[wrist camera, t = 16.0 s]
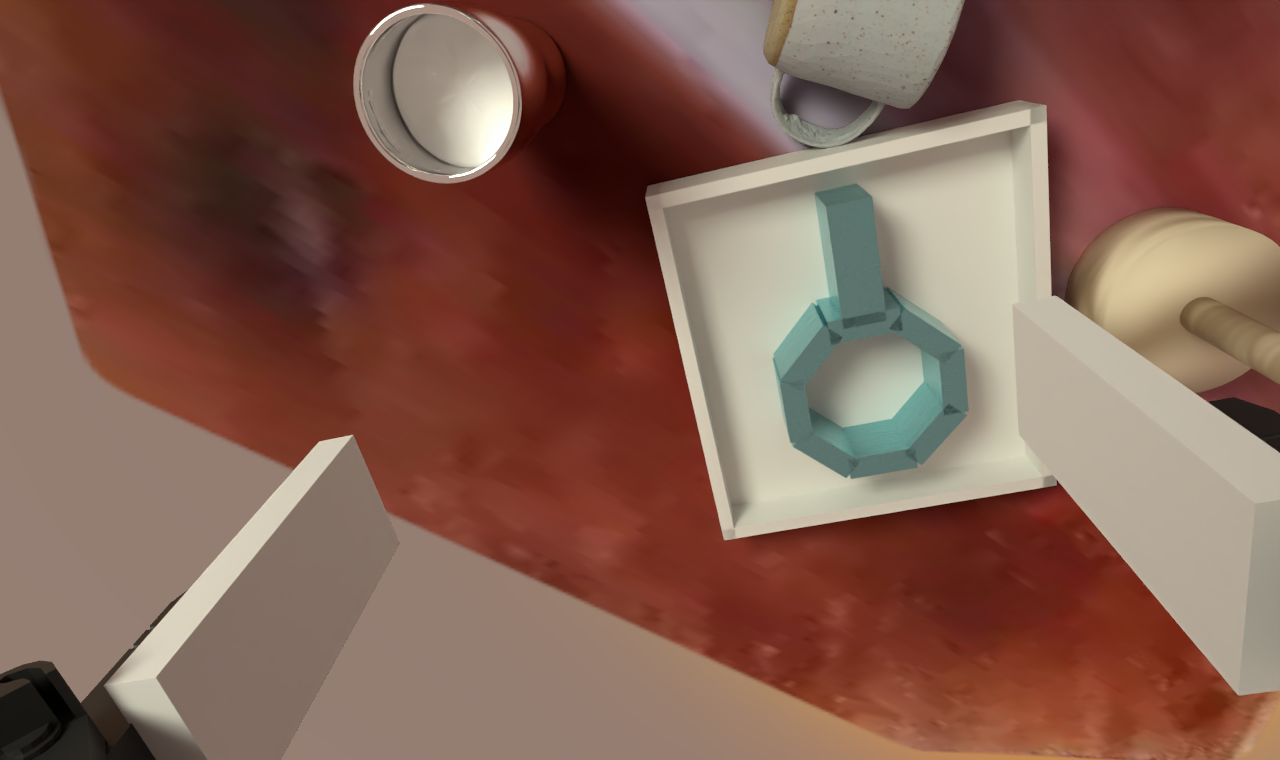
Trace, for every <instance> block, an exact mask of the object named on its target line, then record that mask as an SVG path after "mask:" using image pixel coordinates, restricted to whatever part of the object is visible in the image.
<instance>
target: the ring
mask: <svg viewBox="0 0 1280 760" xmlns="http://www.w3.org/2000/svg"><path fill="white" fill-rule="evenodd" d="M814 195H815V202H816V209H817V215H818V222H819V229H820V236H821V243H822V250H823V257H824V263H825V270H826V277H827V284H828V291H829V297H827V298H823V299H818V300H816V302H817V305H815V304H814V303H811V304H810V306H809V307H808V308H807V310H806V311H805V312H804V314H803V315H802V316H801V318H800V319H799V320H798V322H797V323H796V324H795V326H794V327H793V328H792V330H791V331H790V332H789V334H788V335H787V336H786V338H785V339H784V340H783V342H782V343H781V344H780V346H779V347H778V348H777V350H776V351H775V352H774V358H772V359H773V364H774V370H775V375H776V381H777V386H778V392H779V397H780V403H781V408H782V414H783V418H784V421H785V425H786V429H787V433H788V436H789V440H790V443H792V445H793V447H794V448H796V449H797V450H799V451H801V452H802V453H804V454H806V455H807V456H809V457H811V458H813V459H814V460H816V461H818V462H819V463H821V464H823V465H824V466H826V467H828V468H829V469H831V470H833V471H835V472H836V473H838V474H840V475H841V476H843V477H845V478H847V477H848V476H850V478H851V479H855V478H861V477H866V476H872V475H878V474H884V473H890V472H895V471H901V470H907V469H913V468H918V466H917V463H919V464H921V465H923V464H924V463H925V461H926V460H927V459H928V458H929V457H930V456H931V455H932V454H933V453H934V452H935V450H936V449H937V448H938V447H939V446H940V445H941V444H942V443H943V442H944V440H945V439H946V438H947V437H948V436H949V435H950V434H951V433H952V432H953V431H954V429H955V428H956V427H957V426H958V425H959V424H960V423H961V422H962V421H963V419H964V418H965V417H966V416H967V415H966V413H965V412H967V411H969V409H968V396H967V383H966V370H965V357H964V348H963V347H962V346H961V344H960V343H959V342H958V340H957V339H956V338H955V337H954V336H953V335H952V334H951V333H950V332H949V330H948V329H947V328H946V327H945V326H944V325H943V324H942V323H941V322H940V321H939V320H938V319H936V318H935V317H933V316H932V315H930V314H929V313H927V312H926V311H924V310H922V309H921V308H919V307H918V306H916V305H915V304H913V303H912V302H910V301H909V300H907V299H906V298H904V297H903V296H901V295H899V294H898V293H896V292H895V291H893V290H892V289H890V288H889V287H887V288H886V289H885V288H884V287H883V284H882V276H881V267H880V259H879V250H878V242H877V233H876V225H875V216H874V208H873V199H872V196H871V195H870V194H868V193H867V192H866V191H865V190H864V189H863V188H861V187H860V186H859V185H858V184H857V183H855V184H851V185H846V186H842V187H838V188H833V189H829V190H824V191H820V192H815V193H814ZM894 332H895V333H897V334H898V335H900V336H902V337H903V338H905V339H906V340H908V341H909V342H911V343H912V344H914V345H916V346H917V347H919V348H920V349H921V357H922V367H923V377H924V382H923V383H922V384H921V385H920V386H919V388H918V389H917V390H916V391H915V392H914V393H913V395H912V396H911V397H910V398H909V399H908V400H907V402H906V403H905V404H904V405H903V406H902V407H901V409H900V410H899V411H898V412H897V413H896V414H895V416H894V417H893V418H892V419H888V420H882V421H877V422H871V423H866V424H860V425H855V426H849V427H844V428H842V427H841V426H839V425H837V424H836V423H834V422H832V421H831V420H829V419H827V418H826V417H824V416H822V415H821V414H819V413H817V412H816V411H814V410H812V409H811V408H809V407H808V402H807V396H806V390H805V385H806V384H807V383H808V381H809V380H810V379H811V378H812V376H813V375H814V374H815V373H816V371H817V370H818V369H819V368H820V366H821V365H822V364H823V362H824V361H825V360H826V359H827V357H828V356H829V355H830V354H831V352H832V351H833V350H834V348H835V347H836V346H837V345H838V343H843V342H849V341H854V340H859V339H864V338H869V337H874V336H879V335H884V334H889V333H894Z"/></svg>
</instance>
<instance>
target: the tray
mask: <svg viewBox="0 0 1280 760" xmlns="http://www.w3.org/2000/svg"><path fill="white" fill-rule="evenodd" d="M855 183H857V184H858V185H859V186H860V187H861V188H863V189H864V190H865V191H866V192H867V193H868V194H870V195H871V196H872V199H873V208H874V216H875V225H876V233H877V242H878V250H879V259H880V267H881V276H882V284H883V287H884V288H885V289H886V288H887V287H889V288H890V289H892V290H893V291H895V292H896V293H898V294H899V295H901V296H903V297H904V298H906V299H907V300H909V301H910V302H912V303H913V304H915V305H916V306H918V307H919V308H921V309H922V310H924V311H926V312H927V313H929V314H930V315H932V316H933V317H935V318H936V319H938V320H939V321H940V322H941V323H942V324H943V325H944V326H945V327H946V328H947V329H948V330H949V332H950V333H951V334H952V335H953V336H954V337H955V338H956V339H957V340H958V342H959V343H960V344H961V346H962V347H963V348H964V357H965V370H966V383H967V396H968V409H969V411H967V412H965V413H966V415H967V416H966V417H965V418H964V419H963V421H962V422H961V423H960V424H959V425H958V426H957V427H956V428H955V429H954V431H953V432H952V433H951V434H950V435H949V436H948V437H947V438H946V439H945V440H944V442H943V443H942V444H941V445H940V446H939V447H938V448H937V449H936V450H935V452H934V453H933V454H932V455H931V456H930V457H929V458H928V459H927V460H926V461H925V463H924V464H923V465H921V464H919V463H917V466H918V468H913V469H907V470H901V471H895V472H890V473H884V474H878V475H872V476H866V477H861V478H855V479H851V478H850V476H848V477H847V478H845V477H843V476H841V475H840V474H838V473H836V472H835V471H833V470H831V469H829V468H828V467H826V466H824V465H823V464H821V463H819V462H818V461H816V460H814V459H813V458H811V457H809V456H807V455H806V454H804V453H802V452H801V451H799V450H797V449H796V448H794V447H793V445H792V443H790V440H789V436H788V433H787V429H786V425H785V421H784V418H783V414H782V408H781V403H780V397H779V392H778V386H777V381H776V375H775V370H774V364H773V359H772V358H774V352H775V351H776V350H777V348H778V347H779V346H780V344H781V343H782V342H783V340H784V339H785V338H786V336H787V335H788V334H789V332H790V331H791V330H792V328H793V327H794V326H795V324H796V323H797V322H798V320H799V319H800V318H801V316H802V315H803V314H804V312H805V311H806V310H807V308H808V307H809V306H810V304H811V303H814V304H815V305H817V302H816V300H818V299H823V298H827V297H829V291H828V284H827V277H826V270H825V263H824V257H823V250H822V243H821V236H820V229H819V222H818V215H817V209H816V202H815V195H814V193H815V192H820V191H824V190H829V189H833V188H838V187H842V186H846V185H851V184H855ZM645 199H646V204H647V208H648V212H649V217H650V221H651V225H652V230H653V234H654V238H655V243H656V247H657V251H658V256H659V260H660V264H661V269H662V273H663V277H664V282H665V286H666V290H667V295H668V299H669V303H670V308H671V312H672V316H673V321H674V325H675V329H676V334H677V338H678V342H679V347H680V351H681V355H682V360H683V364H684V368H685V373H686V377H687V381H688V386H689V390H690V394H691V399H692V403H693V407H694V412H695V416H696V420H697V425H698V429H699V433H700V438H701V442H702V446H703V451H704V455H705V459H706V464H707V468H708V472H709V477H710V481H711V485H712V490H713V494H714V498H715V503H716V507H717V511H718V516H719V520H720V524H721V529H722V533H723V537H724V540H729V539H735V538H741V537H747V536H753V535H759V534H766V533H772V532H778V531H784V530H790V529H796V528H802V527H808V526H814V525H820V524H826V523H832V522H838V521H844V520H850V519H856V518H862V517H868V516H874V515H881V514H887V513H893V512H899V511H905V510H911V509H917V508H923V507H929V506H935V505H941V504H947V503H953V502H959V501H965V500H971V499H977V498H983V497H990V496H996V495H1002V494H1008V493H1014V492H1020V491H1026V490H1032V489H1038V488H1044V487H1050V486H1056V485H1057V479H1056V478H1055V477H1054V476H1053V474H1052V473H1051V472H1050V471H1049V470H1048V469H1047V467H1046V466H1045V465H1044V464H1043V463H1042V461H1041V460H1040V459H1039V458H1038V457H1037V455H1036V454H1035V453H1034V452H1033V451H1032V449H1031V448H1030V447H1029V446H1028V445H1027V444H1026V442H1025V441H1024V440H1023V439H1022V438H1021V436H1020V435H1019V429H1018V409H1017V389H1016V369H1015V350H1014V330H1013V310H1012V304H1016V303H1021V302H1026V301H1031V300H1036V299H1041V298H1046V297H1051V296H1052V295H1051V258H1050V222H1049V186H1048V149H1047V113H1046V105H1042V104H1037V103H1032V102H1027V101H1022V100H1017V101H1013V102H1008V103H1004V104H1000V105H995V106H991V107H987V108H982V109H978V110H974V111H969V112H965V113H961V114H956V115H952V116H948V117H943V118H939V119H935V120H930V121H926V122H922V123H917V124H913V125H909V126H904V127H900V128H896V129H891V130H887V131H883V132H878V133H874V134H870V135H865V136H861V137H857V138H854V139H853V140H851V141H849V142H847V143H844V144H842V145H839V146H836V147H831V148H819V147H813V148H809V149H805V150H800V151H796V152H792V153H787V154H783V155H779V156H774V157H770V158H766V159H762V160H757V161H753V162H749V163H744V164H740V165H736V166H731V167H727V168H723V169H718V170H714V171H710V172H705V173H701V174H697V175H692V176H688V177H684V178H679V179H675V180H671V181H666V182H662V183H658V184H653V185H649V186H647V191H646V195H645ZM923 382H924V377H923V367H922V357H921V349H920V348H919V347H917V346H916V345H914V344H912V343H911V342H909V341H908V340H906V339H905V338H903V337H902V336H900V335H898V334H897V333H895V332H894V333H889V334H884V335H879V336H874V337H869V338H864V339H859V340H854V341H849V342H843V343H838V345H837V346H836V347H835V348H834V350H833V351H832V352H831V354H830V355H829V356H828V357H827V359H826V360H825V361H824V362H823V364H822V365H821V366H820V368H819V369H818V370H817V371H816V373H815V374H814V375H813V376H812V378H811V379H810V380H809V381H808V383H807V384H806V385H805V390H806V396H807V402H808V407H809V408H811V409H812V410H814V411H816V412H817V413H819V414H821V415H822V416H824V417H826V418H827V419H829V420H831V421H832V422H834V423H836V424H837V425H839V426H841V427H842V428H844V427H849V426H855V425H860V424H866V423H871V422H877V421H882V420H888V419H892V418H893V417H894V416H895V414H896V413H897V412H898V411H899V410H900V409H901V407H902V406H903V405H904V404H905V403H906V402H907V400H908V399H909V398H910V397H911V396H912V395H913V393H914V392H915V391H916V390H917V389H918V388H919V386H920V385H921V384H922V383H923Z"/></svg>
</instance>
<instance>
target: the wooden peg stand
mask: <svg viewBox="0 0 1280 760" xmlns="http://www.w3.org/2000/svg"><path fill="white" fill-rule="evenodd" d="M1065 302H1066V303H1067V304H1069V305H1070V306H1071V307H1073V308H1074V309H1076V310H1077V311H1079V312H1080V313H1081V314H1083V315H1084V316H1086V317H1087V318H1089V319H1090V320H1091V321H1093V322H1094V323H1096V324H1097V325H1098V326H1100V327H1101V328H1103V329H1104V330H1106V331H1107V332H1108V333H1110V334H1111V335H1113V336H1114V337H1116V338H1117V339H1118V340H1120V341H1121V342H1123V343H1124V344H1126V345H1127V346H1128V347H1130V348H1131V349H1133V350H1134V351H1136V352H1137V353H1138V354H1140V355H1141V356H1143V357H1144V358H1145V359H1147V360H1148V361H1150V362H1151V363H1153V364H1154V365H1155V366H1157V367H1158V368H1160V369H1161V370H1163V371H1164V372H1165V373H1167V374H1168V375H1170V376H1171V377H1173V378H1174V379H1175V380H1177V381H1178V382H1180V383H1181V384H1183V385H1184V386H1185V387H1187V388H1188V389H1190V390H1191V391H1192V392H1194V393H1199V392H1203V391H1207V390H1210V389H1213V388H1216V387H1219V386H1221V385H1224V384H1226V383H1228V382H1230V381H1232V380H1234V379H1236V378H1237V377H1239V376H1241V375H1243V374H1244V373H1245V372H1247V371H1248V370H1250V369H1251V368H1252V369H1254V370H1255V371H1257V372H1259V373H1260V374H1262V375H1264V376H1265V377H1267V378H1269V379H1271V380H1272V381H1274V382H1276V383H1277V384H1279V385H1280V247H1279V246H1278V245H1277V244H1276V243H1275V242H1273V241H1272V240H1271V239H1269V238H1267V237H1266V236H1264V235H1262V234H1260V233H1257V232H1255V231H1252V230H1250V229H1247V228H1244V227H1241V226H1238V225H1235V224H1232V223H1229V222H1226V221H1224V220H1221V219H1218V218H1215V217H1212V216H1209V215H1206V214H1203V213H1200V212H1198V211H1195V210H1191V209H1187V208H1180V207H1160V208H1153V209H1148V210H1145V211H1141V212H1138V213H1135V214H1133V215H1130V216H1128V217H1126V218H1124V219H1122V220H1120V221H1118V222H1116V223H1115V224H1113V225H1112V226H1110V227H1109V228H1107V229H1106V230H1105V231H1103V232H1102V233H1101V234H1100V235H1099V236H1097V237H1096V238H1095V239H1094V240H1093V241H1092V242H1091V243H1090V244H1089V246H1088V247H1087V248H1086V249H1085V251H1084V252H1083V253H1082V255H1081V256H1080V258H1079V259H1078V261H1077V263H1076V264H1075V266H1074V268H1073V271H1072V273H1071V275H1070V278H1069V281H1068V285H1067V290H1066V298H1065Z"/></svg>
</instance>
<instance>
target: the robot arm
mask: <svg viewBox="0 0 1280 760" xmlns="http://www.w3.org/2000/svg"><path fill="white" fill-rule="evenodd" d="M1012 310H1013V330H1014V350H1015V369H1016V389H1017V409H1018V429H1019V435H1020V436H1021V438H1022V439H1023V440H1024V441H1025V442H1026V444H1027V445H1028V446H1029V447H1030V448H1031V449H1032V451H1033V452H1034V453H1035V454H1036V455H1037V457H1038V458H1039V459H1040V460H1041V461H1042V463H1043V464H1044V465H1045V466H1046V467H1047V469H1048V470H1049V471H1050V472H1051V473H1052V474H1053V476H1054V477H1055V478H1056V479H1057V480H1058V482H1059V483H1060V484H1061V485H1062V486H1063V488H1064V489H1065V490H1066V491H1067V492H1068V494H1069V495H1070V496H1071V497H1072V498H1073V499H1074V501H1075V502H1076V503H1077V504H1078V505H1079V507H1080V508H1081V509H1082V510H1083V511H1084V513H1085V514H1086V515H1087V516H1088V517H1089V518H1090V520H1091V521H1092V522H1093V523H1094V524H1095V526H1096V527H1097V528H1098V529H1099V530H1100V532H1101V533H1102V534H1103V535H1104V536H1105V538H1106V539H1107V540H1108V541H1109V542H1110V543H1111V545H1112V546H1113V547H1114V548H1115V549H1116V551H1117V552H1118V553H1119V554H1120V555H1121V557H1122V558H1123V559H1124V560H1125V561H1126V563H1127V564H1128V565H1129V566H1130V567H1131V568H1132V570H1133V571H1134V572H1135V573H1136V574H1137V576H1138V577H1139V578H1140V579H1141V580H1142V582H1143V583H1144V584H1145V585H1146V586H1147V587H1148V589H1149V590H1150V591H1151V592H1152V593H1153V595H1154V596H1155V597H1156V598H1157V599H1158V601H1159V602H1160V603H1161V604H1162V605H1163V607H1164V608H1165V609H1166V610H1167V611H1168V612H1169V614H1170V615H1171V616H1172V617H1173V618H1174V620H1175V621H1176V622H1177V623H1178V624H1179V626H1180V627H1181V628H1182V629H1183V630H1184V632H1185V633H1186V634H1187V635H1188V636H1189V637H1190V639H1191V640H1192V641H1193V642H1194V643H1195V645H1196V646H1197V647H1198V648H1199V649H1200V651H1201V652H1202V653H1203V654H1204V655H1205V657H1206V658H1207V659H1208V660H1209V661H1210V662H1211V664H1212V665H1213V666H1214V667H1215V668H1216V670H1217V671H1218V672H1219V673H1220V674H1221V676H1222V677H1223V678H1224V679H1225V680H1226V681H1227V683H1228V684H1229V685H1230V686H1231V687H1232V689H1233V690H1234V691H1235V692H1236V693H1237V695H1238V696H1239V695H1247V694H1255V693H1263V692H1270V691H1278V690H1280V414H1278V413H1277V412H1275V411H1274V410H1271V409H1268V408H1264V407H1261V406H1258V405H1255V404H1252V403H1249V402H1246V401H1243V400H1240V399H1237V398H1234V397H1233V398H1228V399H1222V400H1216V401H1210V402H1207V401H1205V400H1204V399H1202V398H1201V397H1200V396H1198V395H1197V394H1195V393H1194V392H1192V391H1191V390H1190V389H1188V388H1187V387H1185V386H1184V385H1183V384H1181V383H1180V382H1178V381H1177V380H1175V379H1174V378H1173V377H1171V376H1170V375H1168V374H1167V373H1165V372H1164V371H1163V370H1161V369H1160V368H1158V367H1157V366H1155V365H1154V364H1153V363H1151V362H1150V361H1148V360H1147V359H1145V358H1144V357H1143V356H1141V355H1140V354H1138V353H1137V352H1136V351H1134V350H1133V349H1131V348H1130V347H1128V346H1127V345H1126V344H1124V343H1123V342H1121V341H1120V340H1118V339H1117V338H1116V337H1114V336H1113V335H1111V334H1110V333H1108V332H1107V331H1106V330H1104V329H1103V328H1101V327H1100V326H1098V325H1097V324H1096V323H1094V322H1093V321H1091V320H1090V319H1089V318H1087V317H1086V316H1084V315H1083V314H1081V313H1080V312H1079V311H1077V310H1076V309H1074V308H1073V307H1071V306H1070V305H1069V304H1067V303H1066V302H1064V301H1063V300H1061V299H1060V298H1059V297H1057V296H1051V297H1046V298H1041V299H1036V300H1031V301H1026V302H1021V303H1016V304H1012ZM399 544H400V542H399V540H398V538H397V536H396V533H395V531H394V529H393V526H392V524H391V522H390V519H389V517H388V515H387V512H386V510H385V508H384V505H383V503H382V501H381V498H380V496H379V494H378V491H377V489H376V487H375V484H374V482H373V480H372V477H371V475H370V473H369V471H368V468H367V466H366V464H365V461H364V459H363V457H362V454H361V452H360V450H359V447H358V445H357V443H356V440H355V438H354V436H353V435H350V436H345V437H340V438H335V439H330V440H325V441H320V442H318V444H317V445H316V446H315V447H314V448H313V449H312V450H311V451H310V453H309V454H308V455H307V456H306V457H305V458H304V459H303V461H302V462H301V463H300V464H299V465H298V466H297V467H296V468H295V470H294V471H293V472H292V473H291V474H290V475H289V476H288V478H287V479H286V480H285V481H284V482H283V484H281V485H280V487H279V488H278V489H277V490H276V491H275V492H274V493H273V495H272V496H271V497H270V498H269V499H268V500H267V502H265V504H264V505H263V506H262V507H261V508H260V509H259V510H258V511H257V513H256V514H255V515H254V516H253V517H252V518H251V520H250V521H249V522H248V523H247V524H246V525H245V526H244V527H243V529H242V530H241V531H240V532H239V533H238V534H237V535H236V536H235V538H234V539H233V540H232V541H231V542H230V543H229V544H228V546H227V547H226V548H225V549H224V550H223V551H222V552H221V553H220V555H219V556H218V557H217V558H216V559H215V560H214V561H213V562H212V564H211V565H210V566H209V567H208V568H207V569H206V571H204V573H203V574H202V575H201V576H200V577H199V578H198V579H197V581H196V582H195V583H194V584H193V585H192V586H191V587H190V589H188V590H187V591H186V592H184V593H183V594H182V595H180V596H179V597H178V598H176V599H175V600H174V601H172V602H171V603H170V604H169V605H168V606H167V608H166V609H165V610H164V611H163V612H162V613H161V614H160V615H159V616H158V618H157V619H156V620H155V621H154V622H153V623H152V624H151V625H150V630H146V631H145V632H144V633H143V634H142V635H141V637H140V638H139V639H138V640H137V641H136V642H135V643H134V648H133V649H129V650H128V651H127V652H126V653H125V654H124V655H123V657H122V658H121V659H120V660H119V661H118V662H117V663H116V664H115V666H114V667H113V668H112V669H111V670H110V671H109V672H108V674H107V675H106V676H105V677H104V678H103V679H102V680H101V681H100V682H99V684H98V685H97V686H96V687H95V688H94V689H93V690H92V691H91V692H90V694H89V695H88V696H87V697H86V698H85V699H84V700H83V701H82V702H81V703H80V702H79V700H78V699H77V698H76V696H75V695H74V694H73V692H72V690H71V689H70V687H69V686H68V685H67V683H66V682H65V680H64V679H63V677H62V676H61V675H60V673H59V672H58V670H57V669H56V667H55V666H54V664H53V663H52V662H47V661H37V662H32V663H28V664H24V665H21V666H19V667H16V668H14V669H11V670H9V671H7V672H5V673H3V674H0V760H281V758H282V757H283V755H284V753H285V751H286V749H287V748H288V746H289V744H290V742H291V740H292V738H293V737H294V735H295V733H296V731H297V730H298V728H299V726H300V724H301V722H302V720H303V719H304V717H305V715H306V713H307V711H308V710H309V708H310V706H311V704H312V702H313V700H314V699H315V697H316V695H317V693H318V691H319V690H320V688H321V686H322V684H323V682H324V680H325V679H326V677H327V675H328V673H329V671H330V669H331V668H332V666H333V664H334V662H335V660H336V658H337V657H338V655H339V653H340V651H341V650H342V648H343V646H344V644H345V642H346V640H347V639H348V637H349V635H350V633H351V631H352V629H353V628H354V626H355V624H356V622H357V620H358V619H359V617H360V615H361V613H362V611H363V609H364V608H365V606H366V604H367V602H368V600H369V599H370V597H371V595H372V593H373V591H374V589H375V588H376V586H377V584H378V582H379V580H380V578H381V577H382V575H383V573H384V571H385V569H386V568H387V566H388V564H389V562H390V560H391V559H392V557H393V555H394V553H395V551H396V549H397V548H398V546H399Z"/></svg>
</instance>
